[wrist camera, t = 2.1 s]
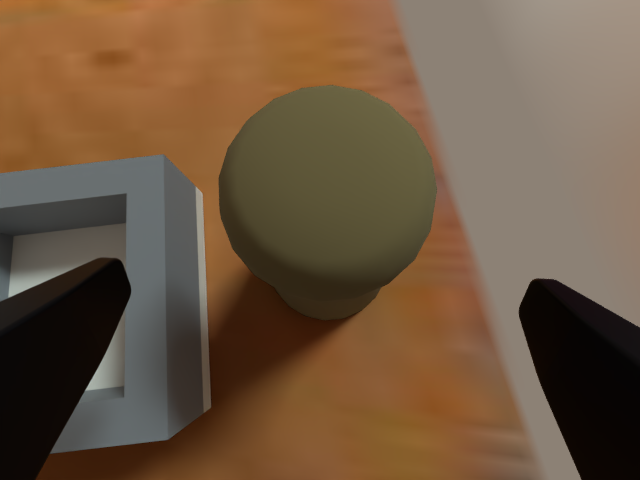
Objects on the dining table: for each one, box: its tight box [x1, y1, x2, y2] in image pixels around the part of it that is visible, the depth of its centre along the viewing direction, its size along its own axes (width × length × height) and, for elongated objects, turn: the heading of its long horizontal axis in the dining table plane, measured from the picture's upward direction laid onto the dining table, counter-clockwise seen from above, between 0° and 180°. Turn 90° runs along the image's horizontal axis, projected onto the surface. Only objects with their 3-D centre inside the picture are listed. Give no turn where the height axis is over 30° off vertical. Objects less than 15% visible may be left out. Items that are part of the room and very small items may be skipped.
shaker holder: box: [0, 154, 211, 454], centre depth 15 cm, size 11×11×4 cm
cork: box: [219, 85, 437, 320], centre depth 12 cm, size 6×6×11 cm
